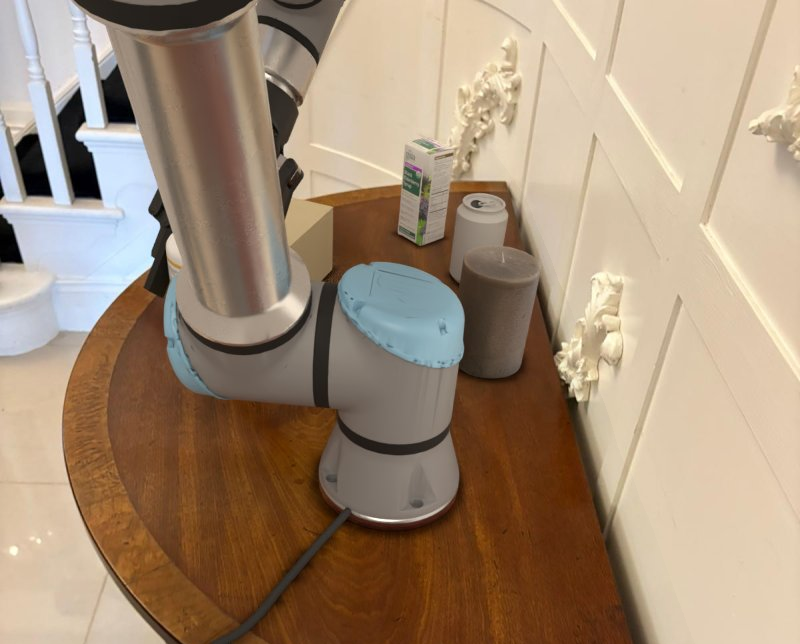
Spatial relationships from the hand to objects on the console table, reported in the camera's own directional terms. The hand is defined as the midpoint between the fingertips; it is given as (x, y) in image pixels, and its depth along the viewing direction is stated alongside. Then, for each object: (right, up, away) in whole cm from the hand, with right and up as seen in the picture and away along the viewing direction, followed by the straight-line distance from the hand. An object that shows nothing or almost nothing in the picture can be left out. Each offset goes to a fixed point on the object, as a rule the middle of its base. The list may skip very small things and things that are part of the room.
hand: (182, 304), depth 81 cm
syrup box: (+26, +26, +50) cm, 61 cm away
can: (+34, +16, +40) cm, 55 cm away
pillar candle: (+34, 0, +25) cm, 42 cm away
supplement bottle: (+1, -1, +6) cm, 6 cm away
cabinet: (+3, +14, +35) cm, 38 cm away
